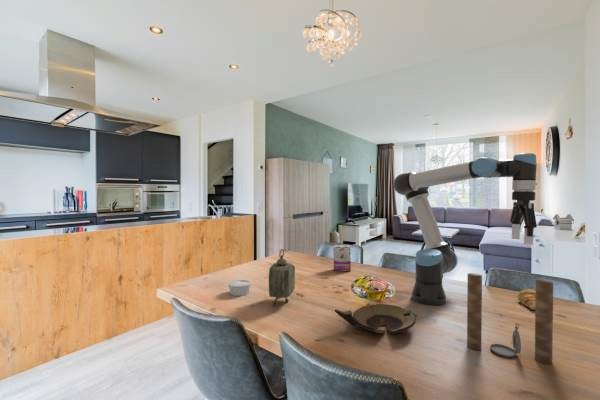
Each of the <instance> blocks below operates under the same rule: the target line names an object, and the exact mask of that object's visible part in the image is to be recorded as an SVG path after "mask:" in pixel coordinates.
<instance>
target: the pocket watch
mask: <svg viewBox="0 0 600 400" xmlns="http://www.w3.org/2000/svg"><path fill="white" fill-rule="evenodd" d="M519 325H520V324H519V323H516V324H515V326H514V330H513V332H512V347H513V348H512V347H510V346H507V345H505V344H501V343H492V344H490V346H489V349H490V350H491V351H492V352H493V353H494V354H497V355H499V356H502V357H505V358H513V357H515V356H516V355H517V354H518V355H519V354H521V351H522V349H521V348H522V342H521V334H520V332H519V331H518V329H519V327H520V326H519Z"/></svg>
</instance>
